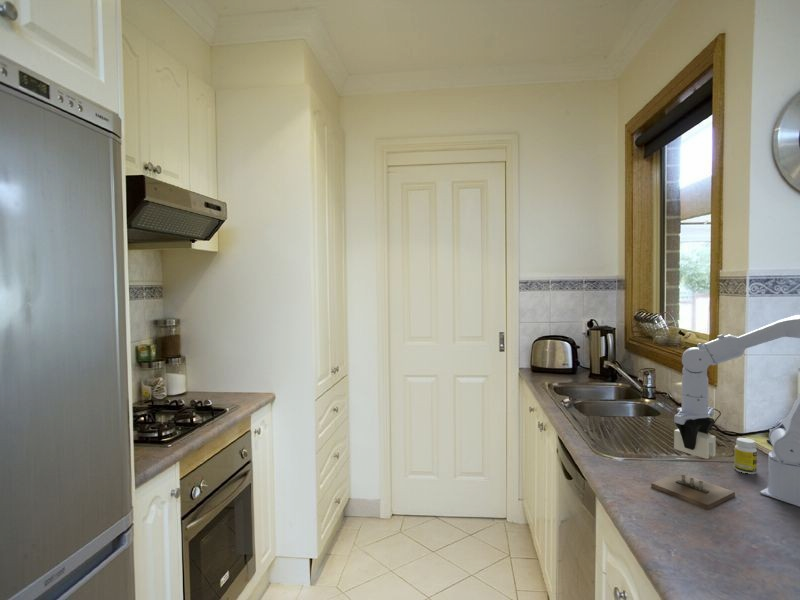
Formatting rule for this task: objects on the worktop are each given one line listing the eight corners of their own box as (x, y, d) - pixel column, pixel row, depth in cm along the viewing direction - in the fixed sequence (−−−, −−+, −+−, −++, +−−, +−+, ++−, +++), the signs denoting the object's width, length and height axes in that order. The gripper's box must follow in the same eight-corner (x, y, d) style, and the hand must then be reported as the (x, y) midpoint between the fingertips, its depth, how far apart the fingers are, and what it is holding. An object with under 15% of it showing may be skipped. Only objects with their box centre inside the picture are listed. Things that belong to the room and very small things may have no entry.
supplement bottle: (756, 476, 117) (757, 444, 117) (734, 471, 120) (734, 440, 120) (756, 469, 121) (756, 439, 121) (734, 465, 124) (734, 435, 124)
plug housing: (715, 455, 114) (715, 436, 114) (706, 459, 112) (706, 439, 112) (682, 445, 121) (682, 427, 121) (674, 448, 119) (674, 430, 119)
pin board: (734, 495, 107) (734, 482, 107) (707, 509, 101) (707, 495, 101) (678, 475, 118) (678, 463, 118) (651, 486, 112) (651, 474, 112)
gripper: (694, 387, 123) (693, 437, 123) (662, 395, 116) (662, 447, 116) (723, 393, 116) (722, 444, 117) (691, 401, 109) (690, 456, 110)
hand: (694, 446), depth 116 cm, fingers closed on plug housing, 4 cm apart
